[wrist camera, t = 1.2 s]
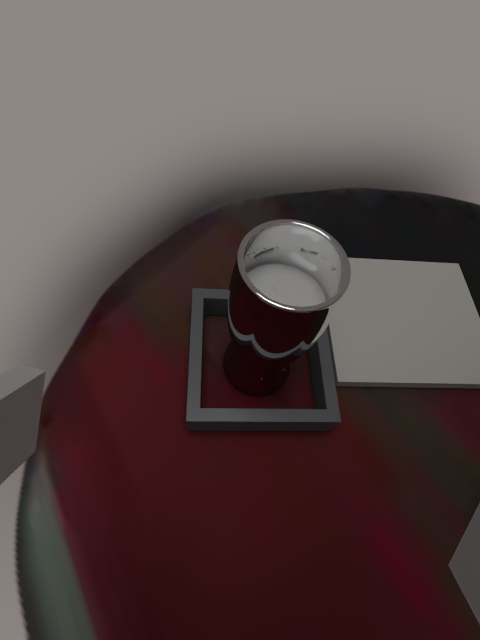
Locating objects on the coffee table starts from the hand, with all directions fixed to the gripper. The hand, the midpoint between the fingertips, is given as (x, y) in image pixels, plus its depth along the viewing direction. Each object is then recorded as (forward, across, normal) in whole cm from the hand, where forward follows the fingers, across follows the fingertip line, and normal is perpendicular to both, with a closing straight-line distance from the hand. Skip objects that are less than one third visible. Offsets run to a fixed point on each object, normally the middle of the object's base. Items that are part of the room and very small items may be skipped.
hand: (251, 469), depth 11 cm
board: (+28, +14, +1) cm, 32 cm away
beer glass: (+23, +1, -5) cm, 23 cm away
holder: (+23, +1, -5) cm, 23 cm away
